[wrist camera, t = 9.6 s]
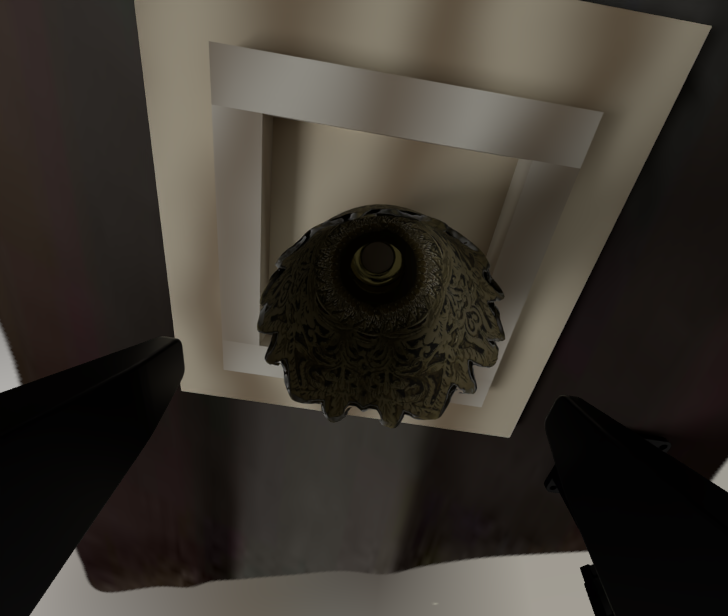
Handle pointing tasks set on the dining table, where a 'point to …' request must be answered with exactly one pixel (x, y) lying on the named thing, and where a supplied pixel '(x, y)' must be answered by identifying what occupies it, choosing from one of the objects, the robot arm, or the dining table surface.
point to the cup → (381, 316)
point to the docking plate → (397, 156)
